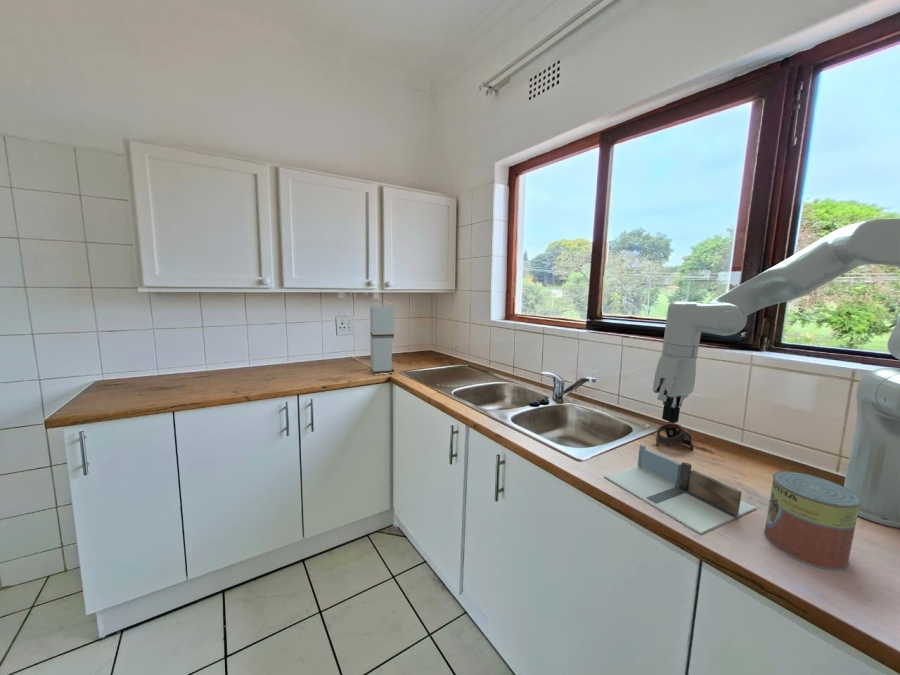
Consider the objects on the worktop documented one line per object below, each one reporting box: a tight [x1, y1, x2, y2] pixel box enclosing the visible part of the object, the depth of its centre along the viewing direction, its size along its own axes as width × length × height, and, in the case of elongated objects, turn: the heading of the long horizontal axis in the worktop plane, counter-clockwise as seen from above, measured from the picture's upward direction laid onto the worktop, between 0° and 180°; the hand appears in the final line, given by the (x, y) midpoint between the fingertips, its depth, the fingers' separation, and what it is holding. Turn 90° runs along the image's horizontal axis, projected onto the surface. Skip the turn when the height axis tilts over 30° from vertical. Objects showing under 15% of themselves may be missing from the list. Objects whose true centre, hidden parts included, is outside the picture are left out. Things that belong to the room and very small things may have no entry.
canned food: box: [763, 470, 861, 571], centre depth 66 cm, size 11×11×12 cm
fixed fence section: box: [679, 461, 743, 515], centre depth 80 cm, size 12×2×7 cm, turn 26°
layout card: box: [603, 465, 757, 535], centre depth 84 cm, size 23×20×1 cm
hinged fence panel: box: [637, 444, 681, 485], centre depth 90 cm, size 10×1×6 cm, turn 26°
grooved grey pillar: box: [369, 305, 395, 375], centre depth 190 cm, size 11×11×35 cm
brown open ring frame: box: [655, 421, 694, 452], centre depth 109 cm, size 12×10×8 cm
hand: (669, 420), depth 93 cm, fingers closed
